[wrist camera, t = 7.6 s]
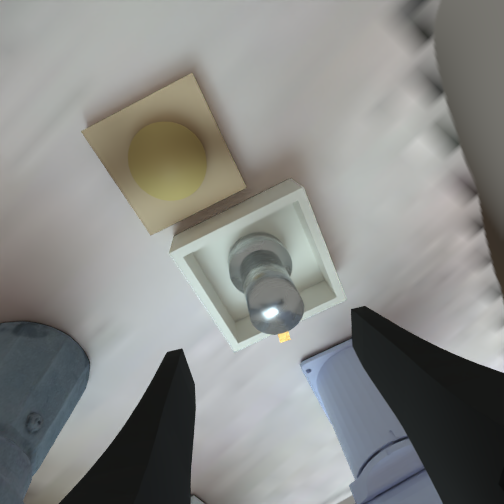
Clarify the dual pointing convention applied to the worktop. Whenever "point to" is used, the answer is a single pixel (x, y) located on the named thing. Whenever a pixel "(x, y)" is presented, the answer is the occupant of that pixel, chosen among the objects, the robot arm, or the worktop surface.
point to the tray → (250, 221)
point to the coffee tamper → (266, 283)
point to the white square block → (196, 500)
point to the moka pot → (34, 398)
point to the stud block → (167, 155)
